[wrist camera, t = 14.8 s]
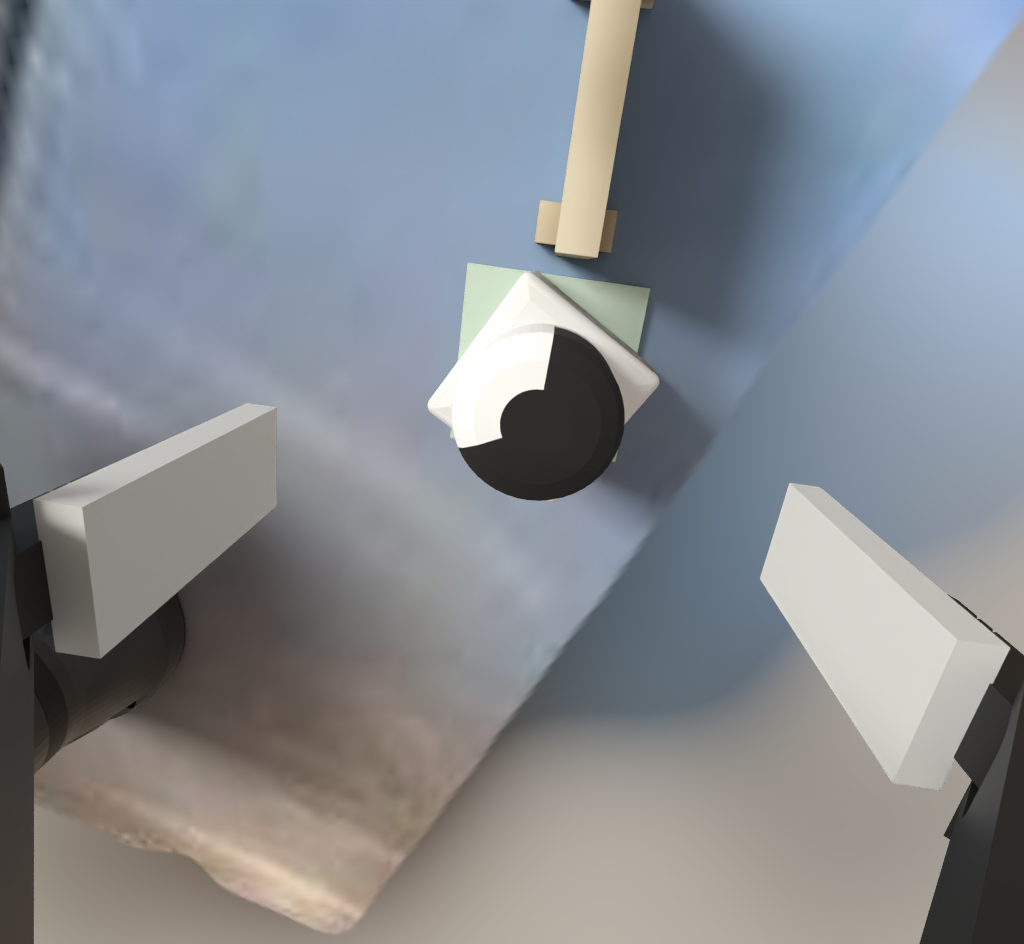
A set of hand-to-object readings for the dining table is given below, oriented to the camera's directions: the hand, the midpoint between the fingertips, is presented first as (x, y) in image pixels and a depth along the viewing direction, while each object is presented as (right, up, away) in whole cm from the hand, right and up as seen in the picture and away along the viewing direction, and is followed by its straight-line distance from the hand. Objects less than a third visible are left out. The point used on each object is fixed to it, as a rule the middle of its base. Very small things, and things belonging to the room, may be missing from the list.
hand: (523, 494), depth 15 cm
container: (+2, +7, +19) cm, 20 cm away
